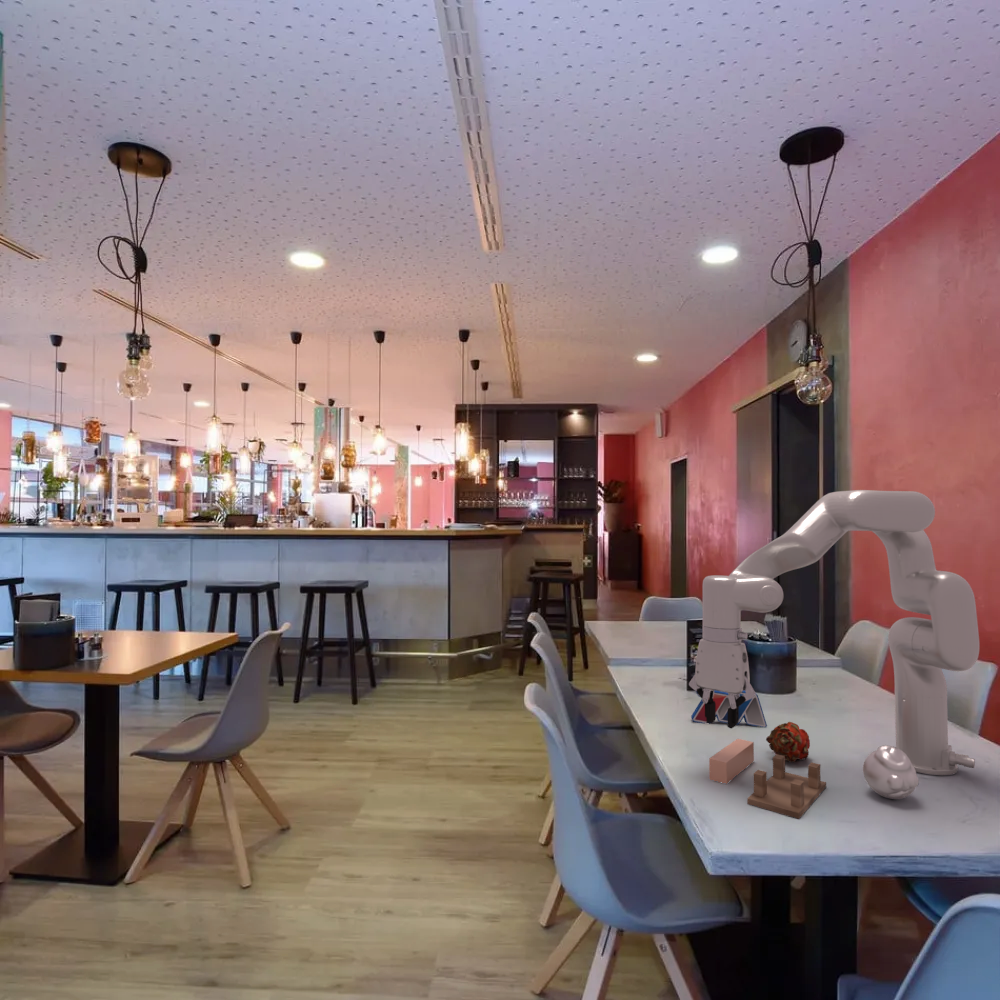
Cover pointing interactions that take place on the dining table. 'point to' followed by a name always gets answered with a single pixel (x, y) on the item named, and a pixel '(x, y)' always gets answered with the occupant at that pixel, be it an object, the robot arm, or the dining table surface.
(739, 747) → the clay strip
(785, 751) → the dragon fruit
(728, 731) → the dining table surface
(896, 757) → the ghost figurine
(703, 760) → the dining table surface
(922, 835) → the dining table surface
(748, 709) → the logo
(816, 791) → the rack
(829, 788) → the dining table surface
